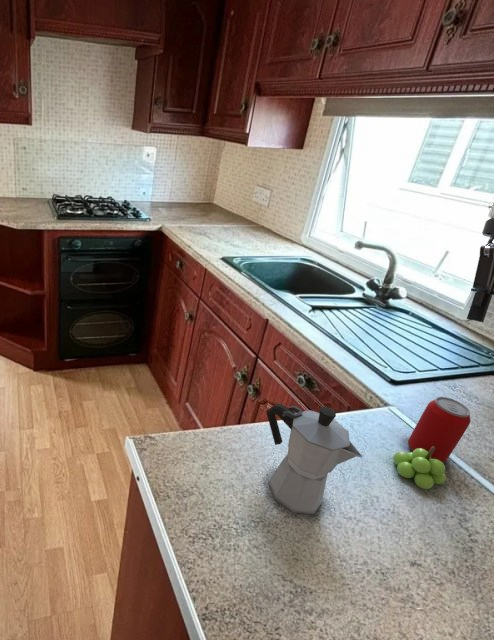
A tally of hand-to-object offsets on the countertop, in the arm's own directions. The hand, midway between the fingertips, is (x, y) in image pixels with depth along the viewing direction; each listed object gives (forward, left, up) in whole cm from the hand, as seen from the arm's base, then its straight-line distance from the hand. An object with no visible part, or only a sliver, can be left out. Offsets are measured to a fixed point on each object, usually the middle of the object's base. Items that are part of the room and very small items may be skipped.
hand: (474, 320), depth 95 cm
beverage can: (+5, +31, -20) cm, 37 cm away
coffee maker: (+26, +57, -20) cm, 66 cm away
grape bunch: (+6, +39, -20) cm, 44 cm away
